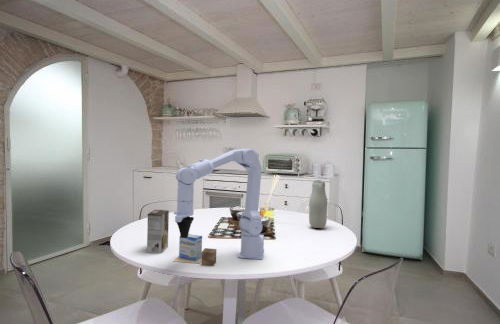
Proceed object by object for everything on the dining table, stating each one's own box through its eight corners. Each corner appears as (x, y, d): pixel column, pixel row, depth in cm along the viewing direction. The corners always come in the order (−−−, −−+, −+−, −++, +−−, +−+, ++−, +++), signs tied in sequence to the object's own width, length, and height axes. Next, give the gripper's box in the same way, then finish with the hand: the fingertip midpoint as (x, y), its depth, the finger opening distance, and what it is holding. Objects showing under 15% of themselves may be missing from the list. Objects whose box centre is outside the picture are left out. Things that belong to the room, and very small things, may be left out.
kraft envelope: (206, 254, 123) (206, 254, 123) (199, 263, 113) (199, 262, 113) (182, 253, 124) (182, 252, 124) (173, 261, 114) (173, 260, 114)
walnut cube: (216, 261, 116) (216, 249, 116) (213, 266, 111) (213, 252, 111) (204, 261, 116) (205, 248, 116) (201, 265, 112) (201, 251, 112)
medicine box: (178, 257, 118) (178, 235, 118) (184, 254, 122) (185, 233, 122) (196, 260, 115) (196, 238, 115) (202, 257, 120) (202, 235, 119)
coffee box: (153, 246, 132) (154, 209, 132) (168, 246, 132) (169, 210, 132) (146, 252, 123) (147, 213, 123) (161, 253, 123) (162, 214, 123)
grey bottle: (327, 227, 177) (329, 180, 176) (323, 231, 168) (325, 181, 167) (311, 225, 182) (313, 179, 181) (306, 228, 173) (308, 180, 172)
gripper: (181, 197, 118) (180, 231, 118) (167, 203, 104) (165, 242, 104) (199, 198, 117) (198, 232, 117) (186, 204, 103) (185, 243, 103)
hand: (184, 237), depth 111 cm, fingers closed
